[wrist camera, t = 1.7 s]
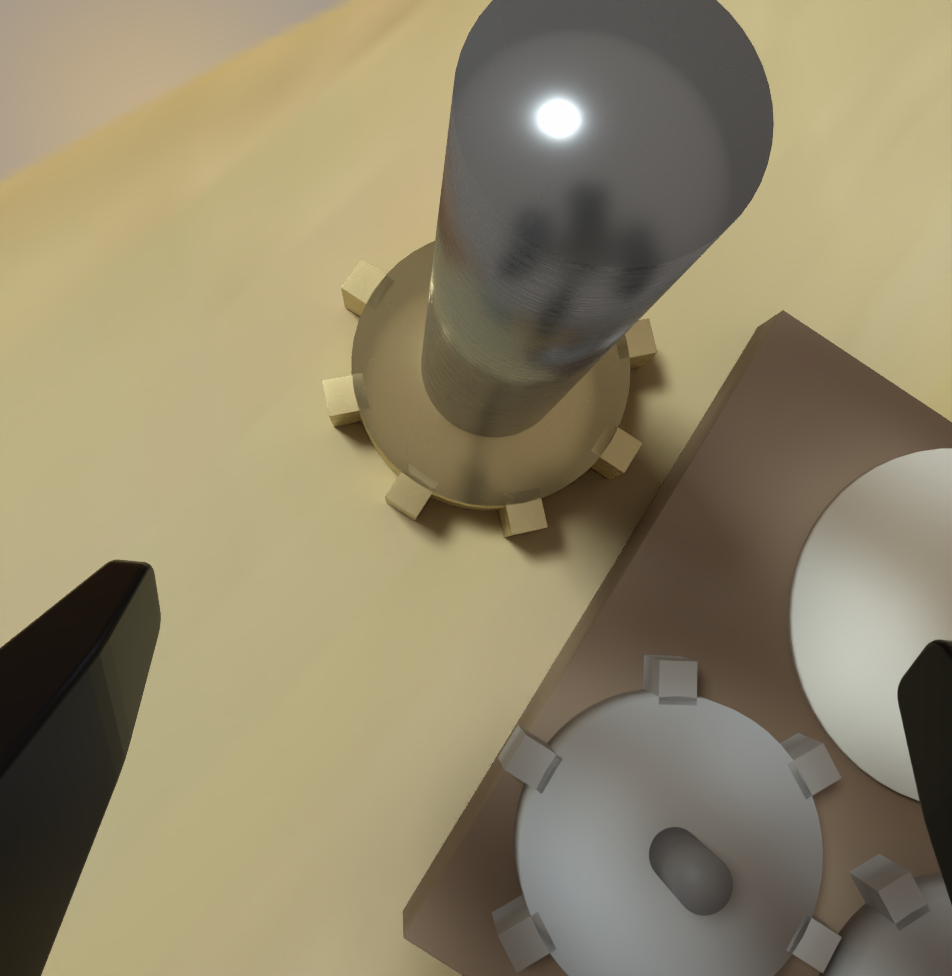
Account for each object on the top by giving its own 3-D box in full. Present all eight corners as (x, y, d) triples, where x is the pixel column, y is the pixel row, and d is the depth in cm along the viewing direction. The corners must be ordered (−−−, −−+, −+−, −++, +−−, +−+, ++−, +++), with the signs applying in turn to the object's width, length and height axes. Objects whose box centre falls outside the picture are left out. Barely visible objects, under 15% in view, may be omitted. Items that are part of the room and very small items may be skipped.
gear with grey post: (535, 598, 21) (745, 642, 9) (264, 423, 21) (58, 196, 8) (695, 339, 23) (1094, 33, 10) (440, 169, 22) (500, -374, 9)
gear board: (965, 1265, 21) (1147, 1488, 16) (393, 904, 20) (391, 1015, 15) (1253, 656, 23) (1492, 680, 18) (748, 321, 23) (849, 250, 18)
